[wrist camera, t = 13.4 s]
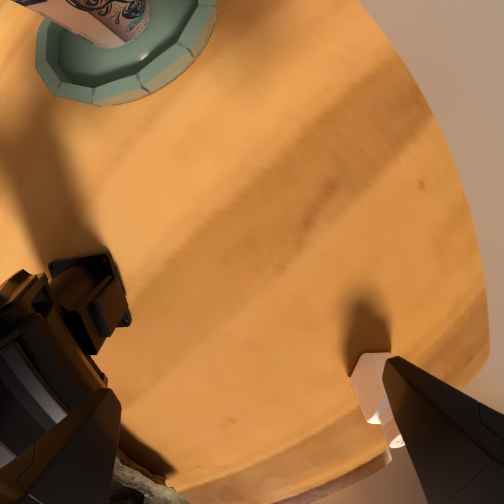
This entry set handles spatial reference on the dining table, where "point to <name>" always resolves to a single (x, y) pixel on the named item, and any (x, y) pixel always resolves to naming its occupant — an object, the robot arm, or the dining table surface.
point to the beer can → (97, 18)
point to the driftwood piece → (139, 485)
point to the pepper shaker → (375, 395)
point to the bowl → (125, 55)
